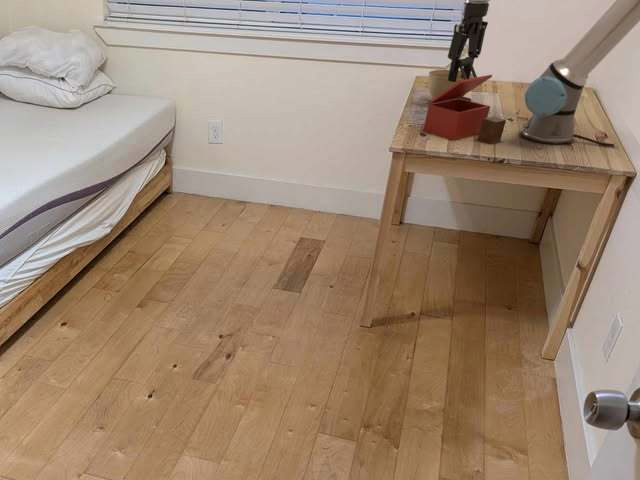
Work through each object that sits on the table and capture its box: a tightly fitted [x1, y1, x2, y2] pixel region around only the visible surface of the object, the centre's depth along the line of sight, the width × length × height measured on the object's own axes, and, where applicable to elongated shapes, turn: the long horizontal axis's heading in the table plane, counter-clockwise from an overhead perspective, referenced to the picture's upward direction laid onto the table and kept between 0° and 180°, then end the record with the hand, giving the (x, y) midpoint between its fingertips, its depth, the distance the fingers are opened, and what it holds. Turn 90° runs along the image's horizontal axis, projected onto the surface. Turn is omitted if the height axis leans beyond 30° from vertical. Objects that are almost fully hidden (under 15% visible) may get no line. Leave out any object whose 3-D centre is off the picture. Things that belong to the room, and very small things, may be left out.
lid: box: [428, 57, 493, 105], centre depth 226 cm, size 14×16×8 cm
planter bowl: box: [427, 69, 474, 103], centre depth 260 cm, size 16×16×11 cm
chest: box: [422, 98, 491, 141], centre depth 230 cm, size 13×16×9 cm
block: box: [477, 115, 507, 145], centre depth 222 cm, size 5×5×7 cm
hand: (458, 79), depth 225 cm, fingers closed on lid, 6 cm apart
